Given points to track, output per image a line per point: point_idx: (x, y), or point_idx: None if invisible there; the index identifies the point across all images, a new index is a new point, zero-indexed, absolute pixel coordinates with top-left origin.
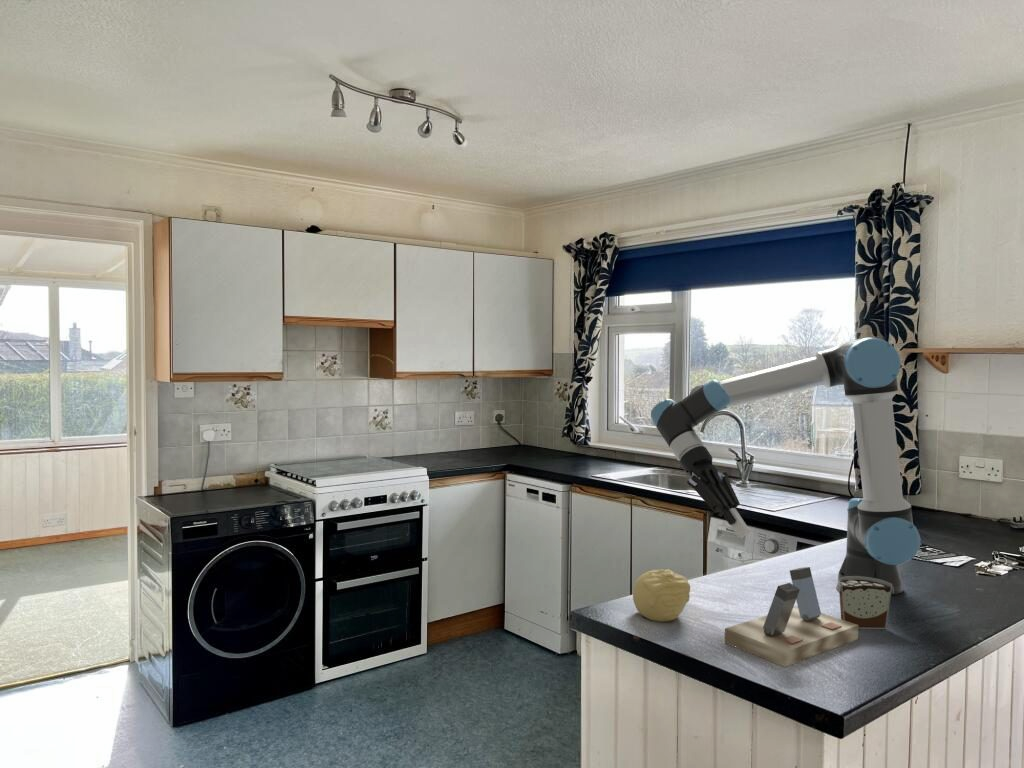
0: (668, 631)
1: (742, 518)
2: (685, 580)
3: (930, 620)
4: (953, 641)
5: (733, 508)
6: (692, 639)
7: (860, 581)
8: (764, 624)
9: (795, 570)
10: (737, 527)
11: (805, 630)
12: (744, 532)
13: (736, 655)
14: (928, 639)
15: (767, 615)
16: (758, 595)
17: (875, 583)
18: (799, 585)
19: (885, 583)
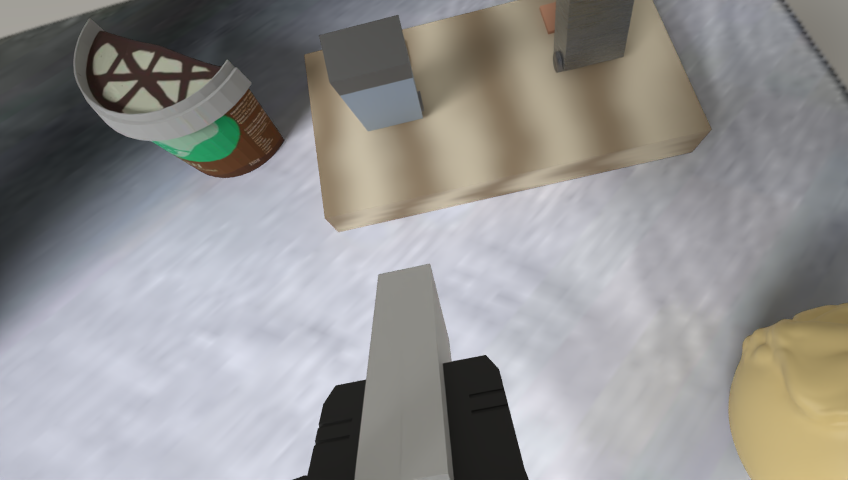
0: (837, 280)
1: (324, 403)
2: (809, 353)
3: (42, 120)
4: (138, 20)
5: (391, 477)
6: (782, 200)
7: (118, 99)
8: (625, 43)
9: (402, 34)
10: (445, 352)
11: (475, 59)
12: (434, 283)
13: (707, 79)
14: (173, 39)
15: (631, 11)
16: (271, 470)
17: (98, 70)
18: (408, 57)
19: (84, 46)
